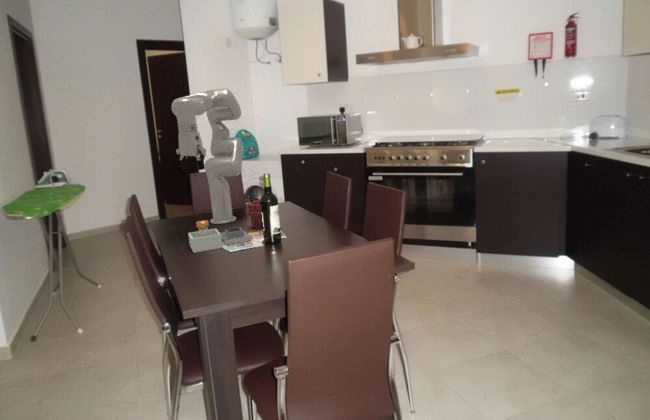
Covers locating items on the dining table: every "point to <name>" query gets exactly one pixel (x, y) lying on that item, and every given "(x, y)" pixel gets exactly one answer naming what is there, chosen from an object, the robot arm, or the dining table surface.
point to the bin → (205, 241)
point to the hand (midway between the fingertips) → (193, 169)
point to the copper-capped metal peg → (203, 227)
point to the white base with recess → (234, 235)
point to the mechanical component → (255, 214)
